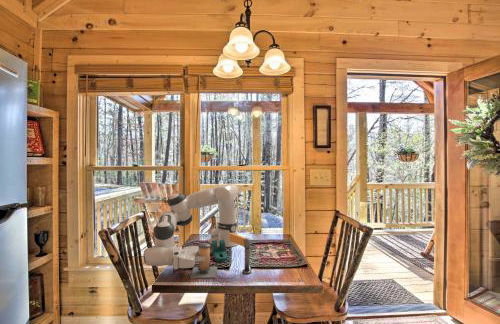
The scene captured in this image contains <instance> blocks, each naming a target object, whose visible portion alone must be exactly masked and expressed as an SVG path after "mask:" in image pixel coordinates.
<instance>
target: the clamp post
mask: <svg viewBox="0 0 500 324" xmlns="http://www.w3.org/2000/svg"><path fill="white" fill-rule="evenodd" d="M250 248H251V247H250ZM250 248H244V269H242V271H241V272H242V274H243V275H250V274H252V269H250Z"/></svg>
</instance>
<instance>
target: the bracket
mask: <svg viewBox="0 0 500 324" xmlns="http://www.w3.org/2000/svg"><path fill="white" fill-rule="evenodd" d="M211 253H212V256H213V255H214V256H213V257H214V260H215V262H216V263H225V261H226V262H227V260H228V259H229V258H228V257H229V256H228V254H227V252H226V247H225V241H224V240H220V242H219V247H217V240H213V241H212V244H211Z"/></svg>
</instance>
